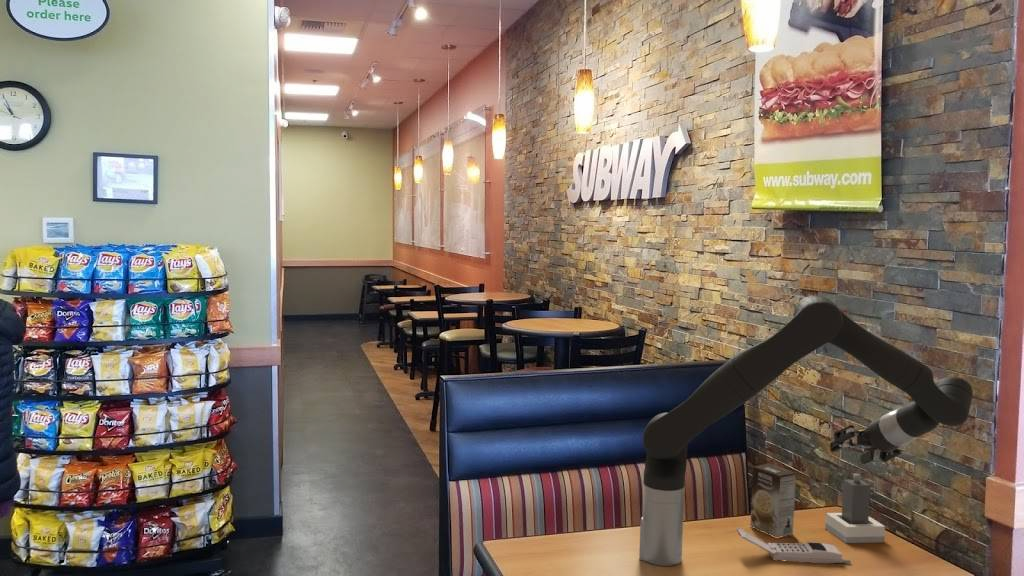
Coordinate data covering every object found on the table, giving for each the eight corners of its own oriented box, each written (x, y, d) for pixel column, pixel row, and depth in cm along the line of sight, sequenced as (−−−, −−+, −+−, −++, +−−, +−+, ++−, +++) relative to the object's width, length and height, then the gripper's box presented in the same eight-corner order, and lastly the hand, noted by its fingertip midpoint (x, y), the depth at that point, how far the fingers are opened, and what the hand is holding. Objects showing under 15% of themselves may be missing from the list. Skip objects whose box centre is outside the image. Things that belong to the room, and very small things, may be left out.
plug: (850, 532, 197) (853, 477, 196) (841, 526, 202) (843, 472, 201) (867, 532, 198) (870, 477, 197) (858, 525, 202) (860, 471, 201)
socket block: (845, 543, 194) (846, 527, 194) (825, 528, 204) (825, 513, 204) (884, 542, 195) (885, 526, 195) (861, 527, 205) (862, 512, 205)
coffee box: (748, 527, 204) (751, 465, 203) (766, 523, 207) (769, 462, 206) (776, 539, 195) (779, 475, 195) (794, 535, 199) (797, 472, 198)
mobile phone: (735, 526, 188) (843, 531, 186) (734, 551, 188) (842, 555, 187) (741, 536, 182) (853, 541, 180) (740, 561, 182) (851, 566, 181)
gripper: (919, 425, 181) (870, 449, 194) (866, 404, 178) (820, 430, 191) (923, 455, 176) (872, 478, 189) (868, 434, 174) (821, 458, 187)
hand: (846, 454), depth 190 cm, fingers open, 8 cm apart
